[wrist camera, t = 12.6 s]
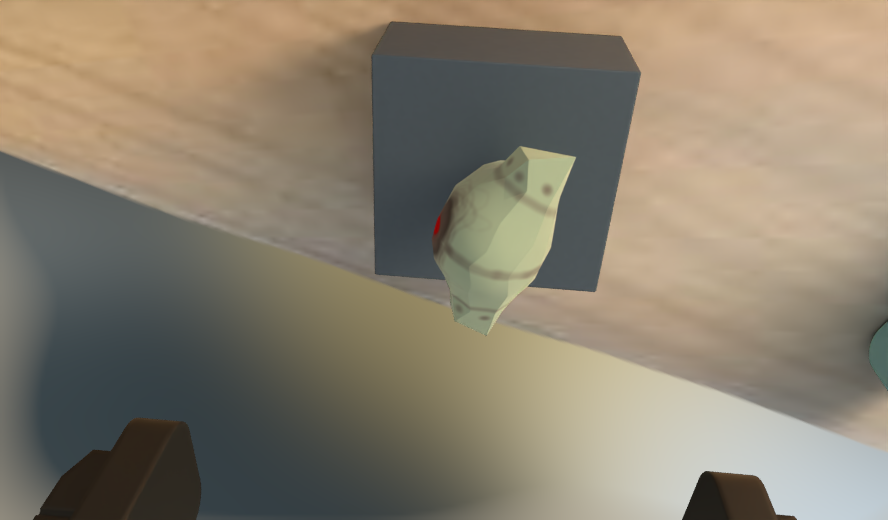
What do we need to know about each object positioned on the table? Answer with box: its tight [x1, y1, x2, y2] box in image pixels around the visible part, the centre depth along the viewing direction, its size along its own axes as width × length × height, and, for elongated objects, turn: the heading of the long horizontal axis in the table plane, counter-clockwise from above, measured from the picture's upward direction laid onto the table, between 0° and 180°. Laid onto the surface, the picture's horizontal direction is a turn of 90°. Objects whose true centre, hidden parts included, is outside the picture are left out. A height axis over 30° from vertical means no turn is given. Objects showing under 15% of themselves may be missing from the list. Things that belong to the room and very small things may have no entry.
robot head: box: [432, 146, 576, 335], centre depth 25 cm, size 8×4×7 cm, turn 161°
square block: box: [371, 22, 641, 292], centre depth 30 cm, size 10×10×5 cm
